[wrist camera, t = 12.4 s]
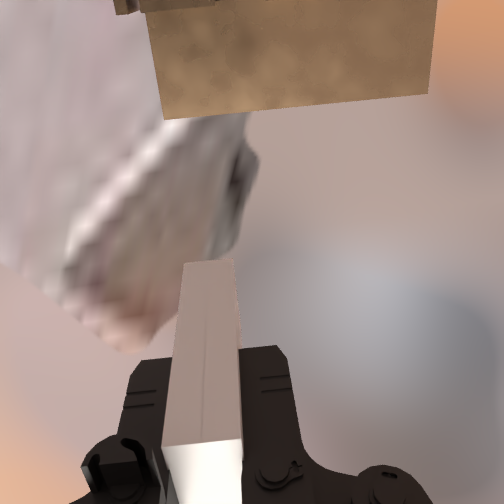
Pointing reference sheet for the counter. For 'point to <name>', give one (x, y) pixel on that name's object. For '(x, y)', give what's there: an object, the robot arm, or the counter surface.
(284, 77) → the brown board
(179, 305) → the robot arm
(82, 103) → the counter surface
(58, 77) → the counter surface
